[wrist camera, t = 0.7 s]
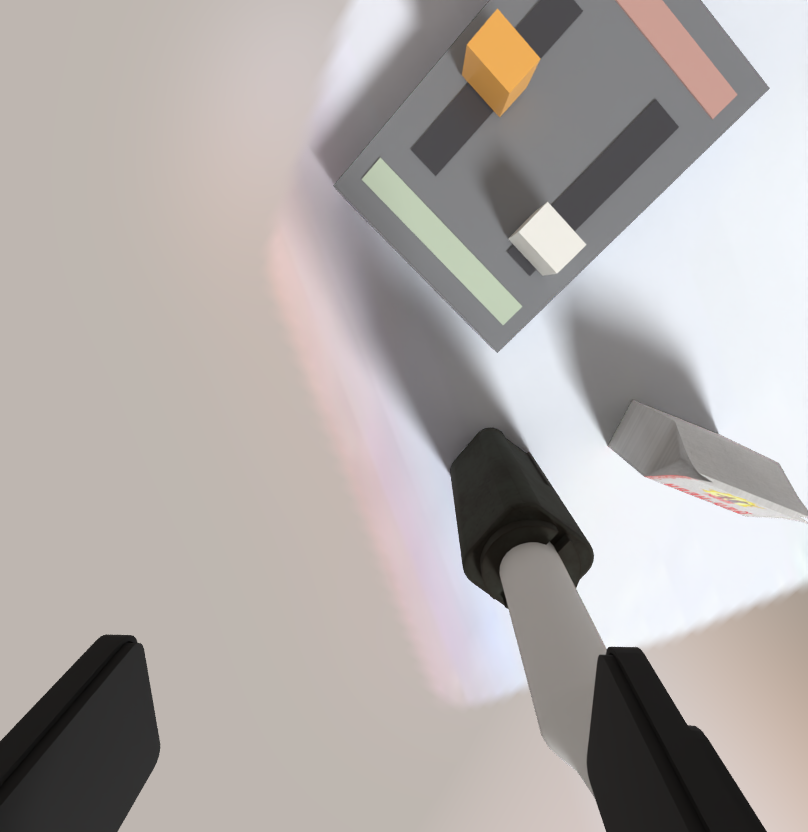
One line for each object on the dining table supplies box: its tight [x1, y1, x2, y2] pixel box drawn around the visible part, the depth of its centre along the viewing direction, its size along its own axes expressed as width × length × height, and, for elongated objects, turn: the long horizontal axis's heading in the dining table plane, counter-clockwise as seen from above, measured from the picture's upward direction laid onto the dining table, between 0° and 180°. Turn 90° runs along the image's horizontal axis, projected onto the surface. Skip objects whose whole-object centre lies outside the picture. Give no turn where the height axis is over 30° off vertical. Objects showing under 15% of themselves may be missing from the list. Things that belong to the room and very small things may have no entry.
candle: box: [450, 428, 607, 797], centre depth 23 cm, size 5×5×25 cm
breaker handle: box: [462, 8, 540, 117], centre depth 24 cm, size 2×3×3 cm, turn 46°
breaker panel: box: [334, 0, 770, 353], centre depth 27 cm, size 20×14×7 cm
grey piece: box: [608, 400, 808, 524], centre depth 29 cm, size 4×7×10 cm, turn 69°
